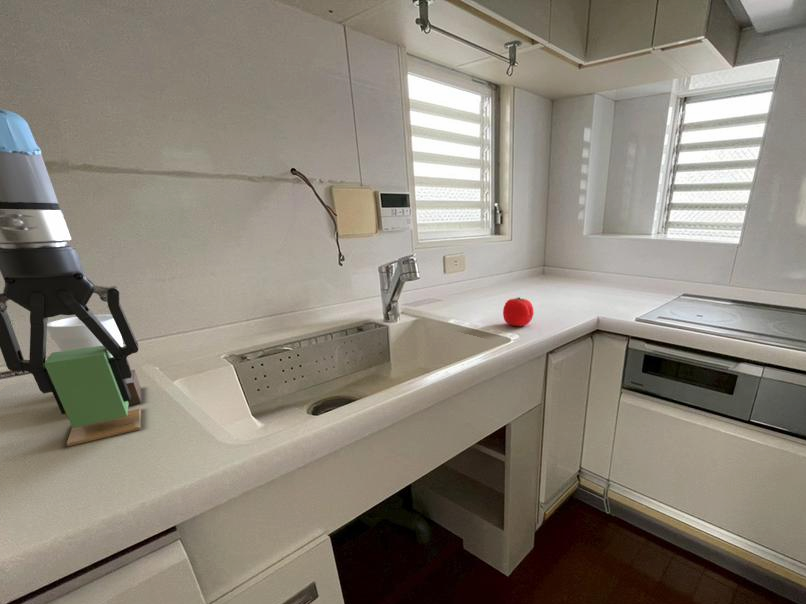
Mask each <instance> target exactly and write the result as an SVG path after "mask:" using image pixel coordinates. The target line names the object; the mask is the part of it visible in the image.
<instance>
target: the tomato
mask: <svg viewBox="0 0 806 604" xmlns="http://www.w3.org/2000/svg"><path fill="white" fill-rule="evenodd" d="M534 313H535V311H534V307H533V305H532V302H531V301H530V300H528V299H526V298H522V297H515V298H509V299H507V301H506V302H505V304H504V306H503V310H502V317H503V320H504V321H505V323H507V324H508V325H509V326H512V327H522V326H527V325H528V324H530V322H531V321H532V320H533V317H534Z"/></svg>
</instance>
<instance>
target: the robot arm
mask: <svg viewBox="0 0 806 604" xmlns="http://www.w3.org/2000/svg"><path fill="white" fill-rule="evenodd" d="M72 240H73V238H72V235H71V233H70V230H69V227H68V224H67V222H66V219H65V215H64V214H63V211H62V209H61V208H60V204H59V200H58V198H57V195H56V192H55V189H54V187H53V184H52V180H51V178H50V175H49V172H48V170H47V167H46V164H45V160H44V158H43V155H42V149H41V148H40V146H38V144H37V143H36V140H35V137H34V135H33V133H32V131H31V128H30V126H29V123H28V121H26V120H25V118H23V116H21V115H19V114H17V113H15V112H13V111H10V110H7V109H2V108H0V274H1V276H2V278H3V280H4V287H3V290H2V292H0V352H1V355H2V357H3V359H4V363H5V365H6V368H7V370H9V371H10V372H27V373H30V374H32V376H33V379H34V380H35V383H36V384H37V385H36V386H37V387H38V390H39V391H40V392H41V393H43V394H48V393H49V394H50V393H52V396H53V397H54V400H55V402H56V404H57V406H58V408H59V411H60V414H61V415H67V414H66V412H65V410H64V408H63V405H62V403H61V401H60V398H59V396H58V394H57V392H56V389H55V387H54V385H53V383H52V380H51V378H50V376H49V374H48V371H47V369H46V367H45V365H44V363H45V362H46V360H47V338H48V337H47V336H48V335H47V334H48V329H47V323H48V321H49V318H54V317H57V316H75V317H78V319H79V320H81V321H82V322H83V323H84V324H85V325H86V327H87V328H88V329H89V330H90V331H91V332H92V333H93V334H94V336H95V337H96V338H97V339H98V340H99V341H100V342H101V344H102V345H103V346H104V347H105V348H106V349H107V350H108V351H109V353H110V354H111V355H112V356H113V357H111V358H110V360H109V364H110V367H111V369H112V372H113V374H114V377H115V380H116V382H117V385H118V388H119V390H120V393H121V396H122V398H123V401H124V402H125V401H130V396H131V395H130V392H129V389H128V387H127V384H126V381H125V379H127V378H131V375H132V371H131V370H132V369H131V366H130V363H129V360H128V357H129V356H131V355H133V354H137V353H138V352H139V349H140V348H139V343H138V341H137V338H136V336H135V334H134V331H133V330H132V327H131V325H130V322H129V321H128V318H127V316H126V314H125V311H124V309H123V307H122V305H121V303H120V299H121V298H120V297H121V290H120V288H119V287H118V286H115V285H112V286H103V285H95V284H94V282H92V281H91V280H90V279H89V278H88V277H87V275H86V274H85V271H84V268H83V265H82V262H81V260H80V257H79V255H78V252H77V249H76V248H75V247H73V246H72V245H69V244H68V243H69V242H71V241H72ZM93 294H96V295H97V296H99V298H100V300H101V301H102V302H106V303H107V308H108V310H109V313H110V315H112V316H113V319H114V321H115V323H116V325H117V327H118V330H119V332H120V334H121V336H122V341H123V344H124V345H123V347H121V346H120V345H119V344H118V342H117V341H116V340H115V339H114V338H113V337H112V335H111V334H110V333H109V332H108V331H107V330H106V328H105V327H104V326H103V325H102V324H101V323H100V321H99V320H98V319H97V318H96V317H95V316H94V315H95V314H94V313H93V311H92V310H91V309H90V308H89V306H88V305H87V304H88V303H89V301H90V299H91V298H92V296H93ZM9 301H11V302H13V303H15V304H17V305H18V306H20V307H22V308H24V309H25V310H26V311H29V316H30V319H29V324H30V327H29V330H30V331H29V332H30V333H29V355H28V359H25V358H24V355H23V352H22V349H21V347H20V344H19V341H18V338H17V335H16V333H15V329H14V327H13V323H12V324H11V321H12V320H11V318H10V315H9V314H8V311H7V310H8V309H9V308H10V304H9Z"/></svg>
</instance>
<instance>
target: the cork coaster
mask: <svg viewBox="0 0 806 604" xmlns="http://www.w3.org/2000/svg"><path fill="white" fill-rule="evenodd" d="M141 413H142V410H141V408H136V409H131V410H128V415H127V416H126V417H122V418H117V419H113V420H108V421H104V422H99V423H95V424H90V425H86V426H81V427H77V428H72V427H71V429H70V433H69V436H68V438H67V441H66V446H67V447H71V446H76V445H80V444H84V443H89V442H93V441H96V440H97V441H98V440H101V439H104V438H105V439H106V438H110V437H113V436H118V435H122V434H126V433H130V432H134V431H139V430H141V418H142V417H141V416H142V415H141Z"/></svg>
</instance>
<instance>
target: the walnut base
mask: <svg viewBox="0 0 806 604" xmlns="http://www.w3.org/2000/svg"><path fill="white" fill-rule="evenodd" d="M131 371H132V375H131V378H127V379H125V381H126V384H127V387H128V389H129V392H130V395H131V396H130V401H128V403H129V405H128V407H129V406H134V405H140V404H141V403H142V387H141V383H140V381H139V378H138V375H137V373H136V370H135V369H131Z"/></svg>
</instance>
